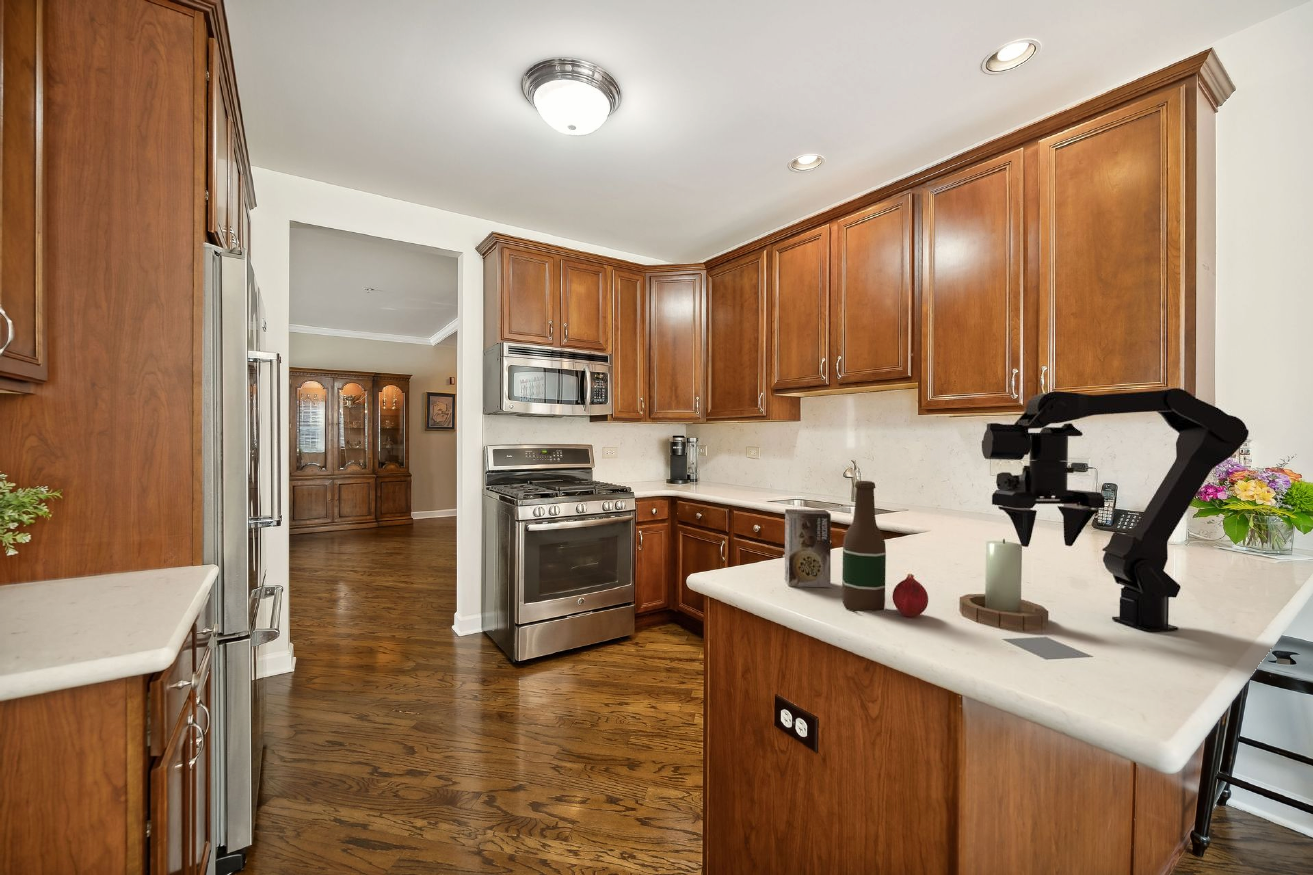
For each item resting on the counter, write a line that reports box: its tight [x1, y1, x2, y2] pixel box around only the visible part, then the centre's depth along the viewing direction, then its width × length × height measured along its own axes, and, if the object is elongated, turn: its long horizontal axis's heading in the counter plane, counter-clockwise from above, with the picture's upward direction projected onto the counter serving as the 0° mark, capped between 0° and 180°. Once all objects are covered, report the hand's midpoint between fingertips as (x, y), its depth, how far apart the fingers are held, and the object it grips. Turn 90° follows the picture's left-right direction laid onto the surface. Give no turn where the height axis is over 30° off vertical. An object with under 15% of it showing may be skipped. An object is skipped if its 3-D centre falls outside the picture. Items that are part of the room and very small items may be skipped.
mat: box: [1002, 636, 1094, 660], centre depth 84 cm, size 8×8×1 cm
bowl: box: [958, 593, 1049, 632], centre depth 98 cm, size 13×13×3 cm
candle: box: [984, 538, 1023, 613], centre depth 98 cm, size 5×5×14 cm
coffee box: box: [784, 508, 832, 588], centre depth 121 cm, size 9×6×16 cm
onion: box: [892, 573, 929, 618], centre depth 98 cm, size 6×6×8 cm
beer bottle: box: [841, 480, 887, 612], centre depth 104 cm, size 8×8×24 cm
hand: (1046, 546), depth 100 cm, fingers open, 9 cm apart
